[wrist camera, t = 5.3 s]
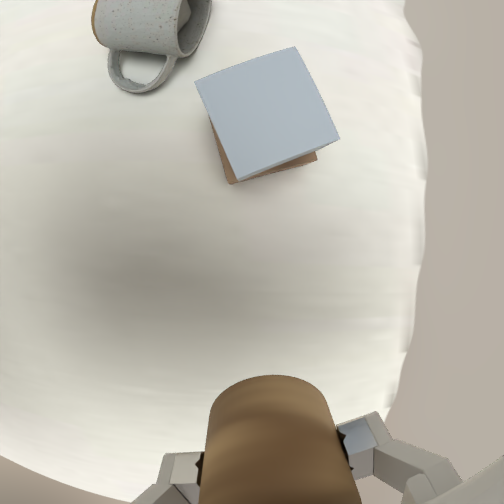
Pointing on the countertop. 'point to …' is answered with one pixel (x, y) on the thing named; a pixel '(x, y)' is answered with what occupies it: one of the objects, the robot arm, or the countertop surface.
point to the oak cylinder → (274, 447)
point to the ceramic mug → (149, 32)
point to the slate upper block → (266, 112)
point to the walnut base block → (287, 165)
